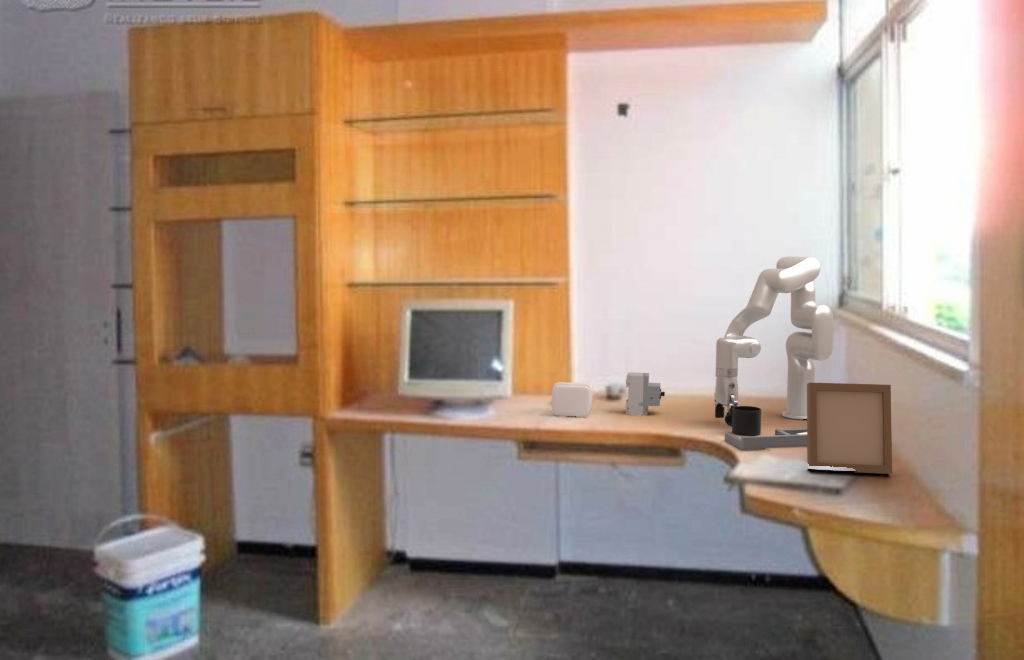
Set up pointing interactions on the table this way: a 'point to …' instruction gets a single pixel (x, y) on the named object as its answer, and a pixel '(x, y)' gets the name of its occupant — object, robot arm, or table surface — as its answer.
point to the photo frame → (849, 426)
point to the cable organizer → (571, 399)
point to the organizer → (770, 440)
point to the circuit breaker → (641, 393)
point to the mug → (745, 420)
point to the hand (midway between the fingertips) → (725, 420)
